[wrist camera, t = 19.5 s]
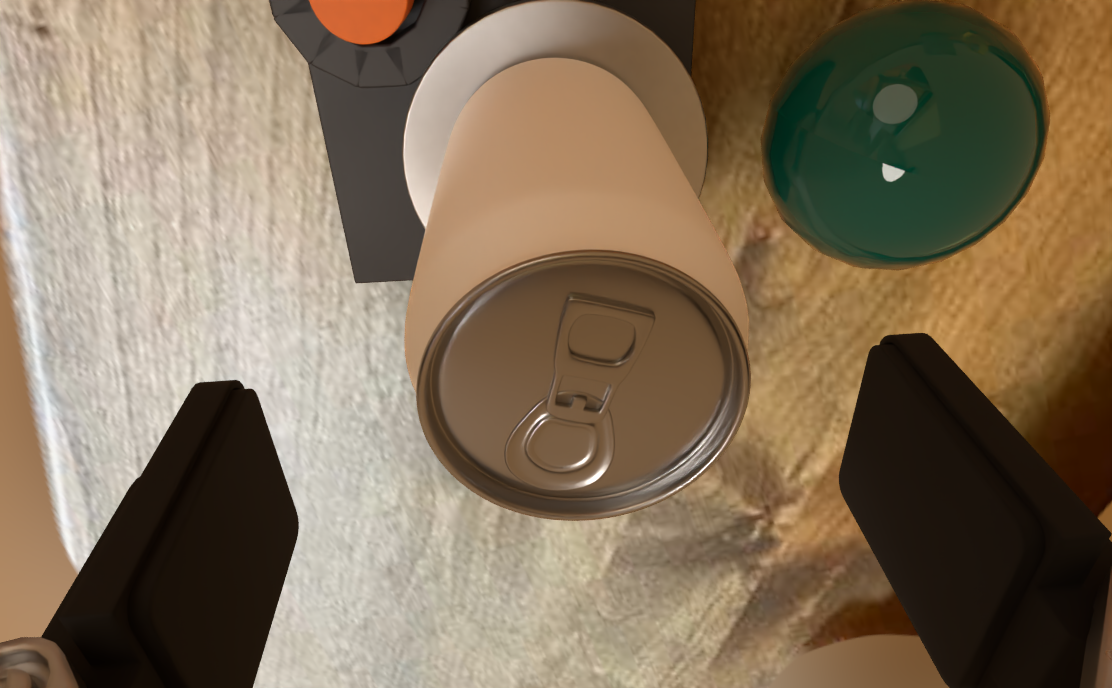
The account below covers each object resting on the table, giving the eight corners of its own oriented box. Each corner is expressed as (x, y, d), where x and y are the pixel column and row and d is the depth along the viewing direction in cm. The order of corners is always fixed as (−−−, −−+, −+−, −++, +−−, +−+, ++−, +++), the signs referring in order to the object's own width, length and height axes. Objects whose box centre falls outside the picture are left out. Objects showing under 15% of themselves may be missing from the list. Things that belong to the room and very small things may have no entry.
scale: (357, 261, 28) (339, 306, 25) (275, -131, 21) (237, -131, 18) (670, 243, 28) (688, 286, 25) (691, -149, 21) (719, -153, 18)
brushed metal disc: (426, 298, 25) (424, 307, 25) (380, 4, 20) (376, 7, 20) (694, 283, 25) (697, 291, 25) (716, -13, 20) (721, -10, 20)
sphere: (1007, 68, 25) (1185, 137, 19) (845, 247, 29) (945, 359, 22) (843, -72, 23) (981, -51, 16) (687, 143, 26) (747, 235, 19)
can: (430, 236, 23) (366, 510, 13) (470, 25, 20) (424, 178, 10) (621, 277, 24) (694, 559, 14) (688, 85, 21) (847, 277, 11)
